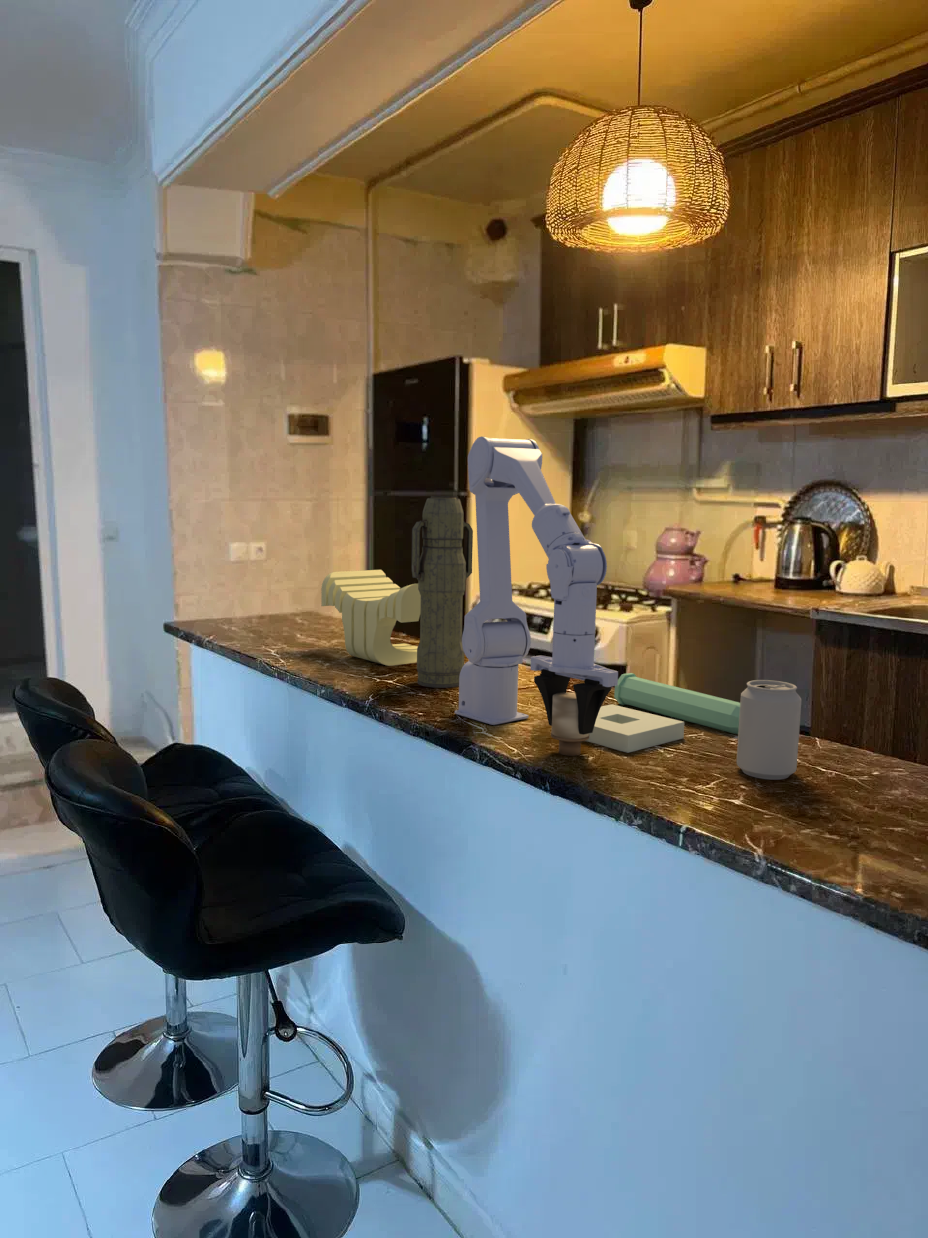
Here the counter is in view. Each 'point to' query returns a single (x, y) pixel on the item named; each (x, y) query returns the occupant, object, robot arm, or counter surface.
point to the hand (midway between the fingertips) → (570, 728)
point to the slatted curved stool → (372, 613)
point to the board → (633, 729)
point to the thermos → (441, 589)
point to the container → (678, 703)
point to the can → (769, 729)
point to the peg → (566, 724)
